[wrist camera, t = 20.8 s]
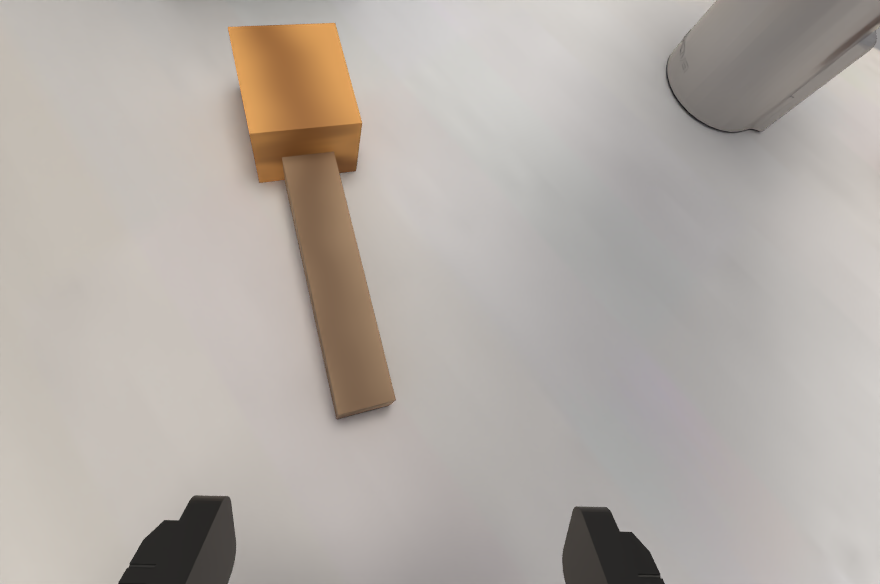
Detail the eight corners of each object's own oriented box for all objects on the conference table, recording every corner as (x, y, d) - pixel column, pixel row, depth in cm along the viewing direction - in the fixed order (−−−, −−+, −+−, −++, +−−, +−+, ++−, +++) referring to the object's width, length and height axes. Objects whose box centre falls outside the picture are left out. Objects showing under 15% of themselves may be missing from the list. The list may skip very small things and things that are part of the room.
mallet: (332, 81, 35) (335, 23, 30) (415, 398, 29) (433, 385, 25) (240, 88, 33) (227, 27, 28) (308, 426, 27) (307, 418, 23)
